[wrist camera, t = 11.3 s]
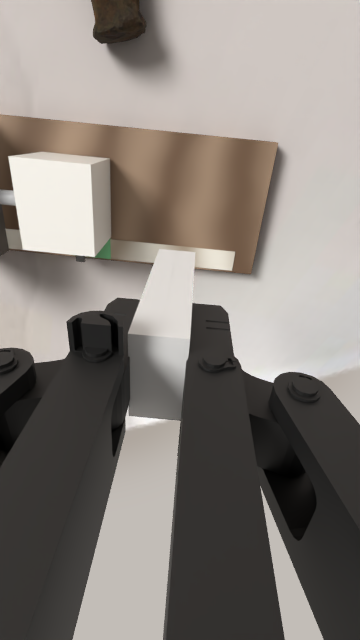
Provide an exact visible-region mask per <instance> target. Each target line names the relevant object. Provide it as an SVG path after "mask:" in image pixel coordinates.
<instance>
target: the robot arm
mask: <svg viewBox="0 0 360 640" xmlns="http://www.w3.org/2000/svg"><path fill="white" fill-rule="evenodd" d="M194 268H195V252H189V251H177V250H165V249H159V251H158V253H157V256H156V259H155V262H154V264H153V267H152V270H151V272H150V275H149V278H148V280H147V283H146V286H145V289H144V291H143V294H142V297H141V299H140V300H137V299H126V298H117V299H115V300H114V301H112V302H111V303H109V304H108V305H107V307H106V309H105V311H89V312H84V313H80V314H78V315H75V316H73V317H72V318H70V319H69V320H68V321H67V330H68V338H69V346H70V352H69V354H68V355H67V357H66V358H65V359H62V360H57V361H51V362H42V363H34V359H33V357H32V355H31V354H30V352H28V351H25V350H23V349H18V348H3V349H0V640H72V639H73V635H74V631H75V627H76V623H77V619H78V615H79V611H80V607H81V603H82V599H83V596H84V592H85V587H86V584H87V580H88V576H89V572H90V568H91V564H92V560H93V556H94V552H95V548H96V545H97V540H98V537H99V533H100V529H101V525H102V521H103V517H104V512H105V509H106V505H107V501H108V497H109V493H110V489H111V485H112V482H113V478H114V474H115V470H116V466H117V462H118V458H119V454H120V450H121V446H122V442H123V438H124V435H125V416H126V412H127V409H128V405H129V416H137V417H147V418H158V419H168V420H179V421H181V424H180V435H179V445H178V455H177V456H178V459H177V472H176V485H175V497H174V510H173V522H172V534H171V547H170V559H169V571H168V572H169V573H168V584H167V597H166V609H165V621H164V634H163V640H285V639H284V632H283V627H282V621H281V614H280V608H279V601H278V595H277V589H276V582H275V576H274V570H273V563H272V557H271V551H270V545H269V538H268V532H267V526H266V519H265V513H264V507H263V501H262V495H261V489H260V486H261V488H262V490H263V493H264V495H265V498H266V500H267V503H268V505H269V508H270V510H271V512H272V515H273V517H274V520H275V522H276V525H277V527H278V529H279V532H280V534H281V537H282V539H283V541H284V544H285V546H286V549H287V551H288V554H289V556H290V558H291V561H292V563H293V566H294V568H295V571H296V573H297V575H298V578H299V580H300V583H301V585H302V588H303V590H304V592H305V595H306V597H307V600H308V602H309V605H310V607H311V610H312V612H313V614H314V617H315V619H316V622H317V624H318V626H319V629H320V631H321V634H322V636H323V638H324V640H360V425H359V423H358V422H357V421H356V420H355V418H354V417H353V416H352V415H351V414H350V412H349V411H348V410H347V409H346V407H345V406H344V405H343V404H342V403H341V401H340V400H339V399H338V398H337V397H336V395H335V394H334V393H333V392H332V391H331V389H330V388H329V387H327V386H326V385H325V384H324V383H323V382H322V381H320V380H318V379H316V378H314V377H313V376H310V375H307V374H303V373H297V372H288V373H283V374H280V375H279V376H278V377H276V378H275V381H274V383H271V382H268V381H265V380H262V379H259V378H256V377H254V376H251V375H249V374H248V373H246V372H244V371H243V370H242V369H241V365H240V363H239V361H238V359H237V358H235V357H234V353H233V346H232V339H231V332H230V324H229V317H228V313H227V312H226V311H225V310H224V309H223V308H222V307H221V306H217V305H206V304H195V303H192V301H193V284H194Z"/></svg>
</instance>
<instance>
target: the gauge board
mask: <svg viewBox="0 0 360 640" xmlns="http://www.w3.org/2000/svg"><path fill="white" fill-rule="evenodd" d="M277 147H278V143H276V142H267V141H258V140H248V139H238V138H228V137H218V136H208V135H198V134H188V133H178V132H168V131H159V130H149V129H139V128H129V127H119V126H109V125H99V124H89V123H79V122H70V121H60V120H50V119H40V118H30V117H20V116H10V115H0V189H2V190H12V191H14V190H13V183H12V177H11V171H10V164H9V158H8V156H14V155H22V154H29V153H36V152H50V153H60V154H70V155H80V156H90V157H100V158H110V192H111V238H110V239H109V240H108V241H107V243H106V244H105V245H104V246H103V248H102V249H101V250H100V251H99V252H98V254H97V255H96V256H95V257H89V256H85V258H95V259H105V260H115V261H125V262H135V263H145V264H154V262H155V259H156V256H157V253H158V251H159V249H165V250H177V251H189V252H195V268H194V269H204V270H214V271H224V272H234V273H244V274H251V271H252V266H253V261H254V257H255V252H256V247H257V242H258V238H259V233H260V228H261V223H262V218H263V214H264V209H265V204H266V199H267V194H268V190H269V185H270V180H271V175H272V171H273V166H274V161H275V156H276V151H277ZM9 250H15V251H25V252H35V253H45V254H55V255H65V256H75V257H76V255H69V254H59V253H49V252H39V251H29V250H23V248H22V241H21V235H20V228H19V222H18V216H17V209H16V206H13V205H3V204H0V256H1V255H3V254H4V253H6V252H7V251H9Z"/></svg>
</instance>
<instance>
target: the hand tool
mask: <svg viewBox="0 0 360 640" xmlns="http://www.w3.org/2000/svg"><path fill="white" fill-rule="evenodd" d="M91 2H92V6H93V10H94V16H95V26H94V29H93V37H94V38H95V39H96V40H98V42H100V43H101V44H103V43H115V42H123V41H127V40H131V39H133V38H137V37H138V36H140V35H141V34H143V33H145V28H146V21H145V19H144V18H143V16H142V15H141V13H140V12H139V0H91Z"/></svg>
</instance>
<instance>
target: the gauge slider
mask: <svg viewBox="0 0 360 640" xmlns="http://www.w3.org/2000/svg"><path fill="white" fill-rule="evenodd" d="M8 158H9V164H10V171H11V177H12V183H13V190H14V191H12V190H2V189H0V204H3V205H13V206H16V209H17V216H18V222H19V228H20V235H21V241H22V248H23V250H29V251H39V252H49V253H59V254H69V255H76V261H79V262H85V256H89V257H95V256H96V255H97V254H98V252H99V251H100V250H101V249H102V248H103V246H104V245H105V244H106V243H107V241H108V240H109V239H110V238H111V192H110V158H100V157H90V156H80V155H70V154H60V153H50V152H36V153H29V154H22V155H14V156H8Z"/></svg>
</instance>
